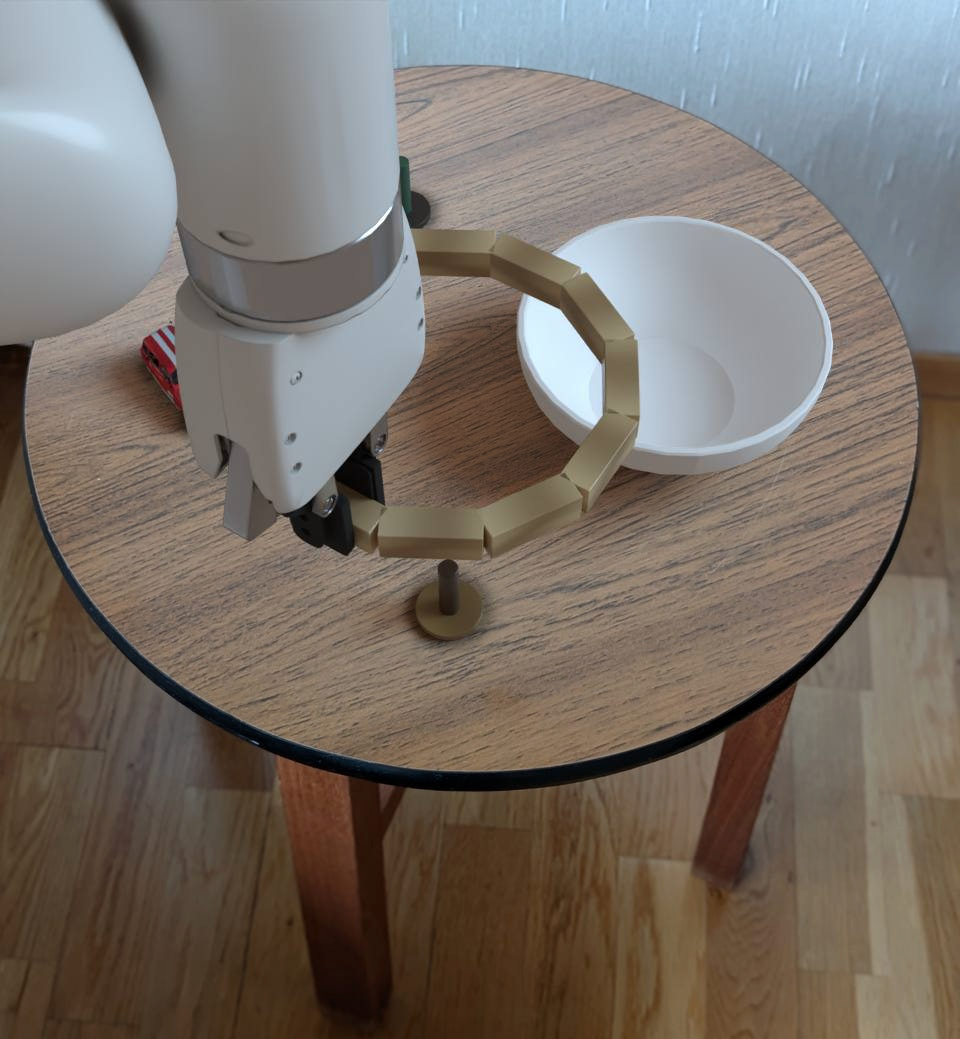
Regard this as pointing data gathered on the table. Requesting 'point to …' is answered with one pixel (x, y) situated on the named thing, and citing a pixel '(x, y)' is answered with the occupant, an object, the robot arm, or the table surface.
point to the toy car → (163, 361)
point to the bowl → (686, 343)
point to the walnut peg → (449, 605)
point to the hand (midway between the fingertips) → (338, 517)
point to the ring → (592, 462)
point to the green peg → (412, 199)
